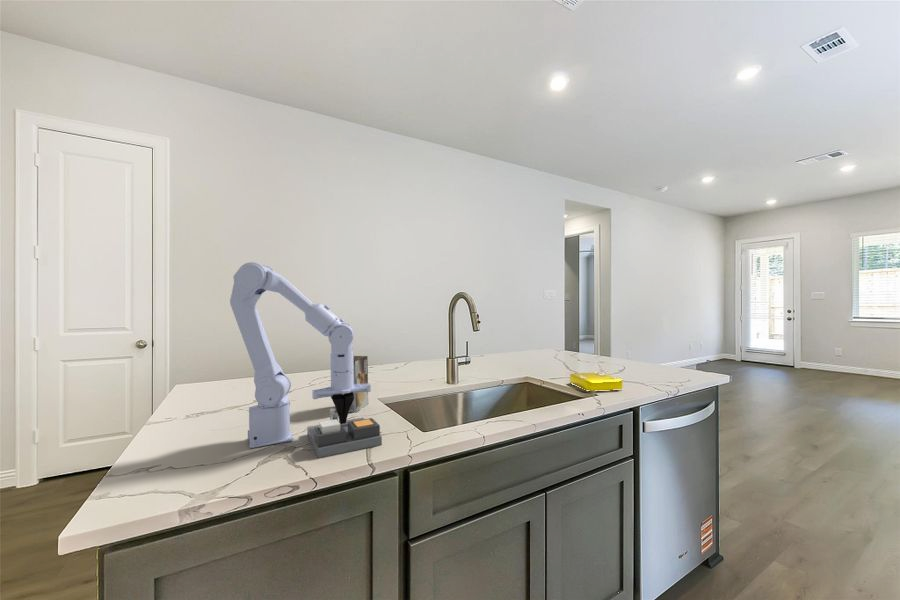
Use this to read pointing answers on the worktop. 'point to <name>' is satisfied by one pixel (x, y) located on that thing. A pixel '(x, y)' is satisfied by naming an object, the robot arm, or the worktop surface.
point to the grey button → (329, 426)
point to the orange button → (362, 423)
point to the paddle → (333, 414)
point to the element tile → (596, 381)
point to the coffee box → (360, 382)
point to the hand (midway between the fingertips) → (342, 422)
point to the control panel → (345, 438)
